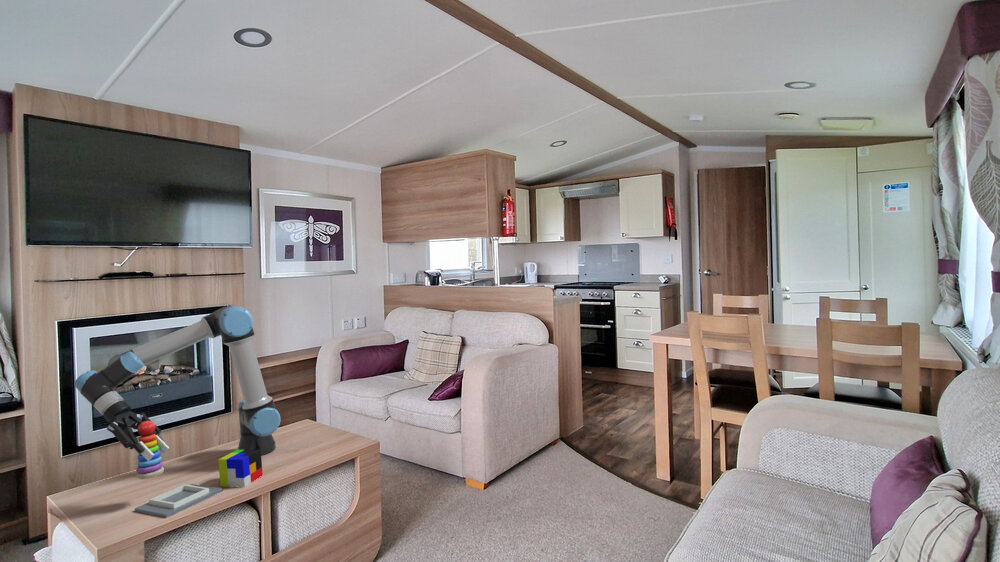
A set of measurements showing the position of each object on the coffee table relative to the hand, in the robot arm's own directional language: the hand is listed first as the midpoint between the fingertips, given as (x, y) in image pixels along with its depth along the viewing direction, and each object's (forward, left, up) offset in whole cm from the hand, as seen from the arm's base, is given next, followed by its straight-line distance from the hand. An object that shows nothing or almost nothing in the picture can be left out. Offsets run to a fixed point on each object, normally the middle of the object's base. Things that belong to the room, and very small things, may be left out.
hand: (158, 454), depth 178 cm
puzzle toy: (-21, +13, -17) cm, 30 cm away
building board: (-2, +6, -17) cm, 18 cm away
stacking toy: (+1, -4, -7) cm, 8 cm away
